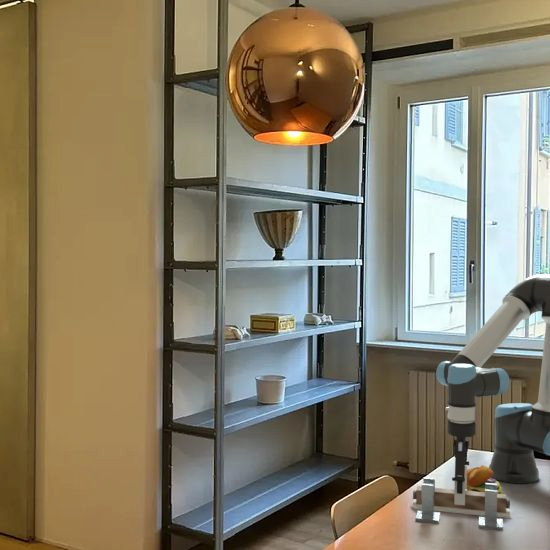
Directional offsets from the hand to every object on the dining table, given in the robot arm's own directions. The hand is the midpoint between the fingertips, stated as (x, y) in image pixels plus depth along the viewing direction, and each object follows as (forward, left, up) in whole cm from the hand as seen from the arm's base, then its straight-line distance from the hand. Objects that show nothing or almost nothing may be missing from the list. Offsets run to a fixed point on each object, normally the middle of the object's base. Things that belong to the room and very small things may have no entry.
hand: (460, 496), depth 201 cm
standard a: (+13, +1, -4) cm, 13 cm away
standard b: (+1, +13, -4) cm, 13 cm away
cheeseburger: (-13, -4, -4) cm, 14 cm away
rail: (0, 0, -3) cm, 3 cm away
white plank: (0, 0, -4) cm, 4 cm away
